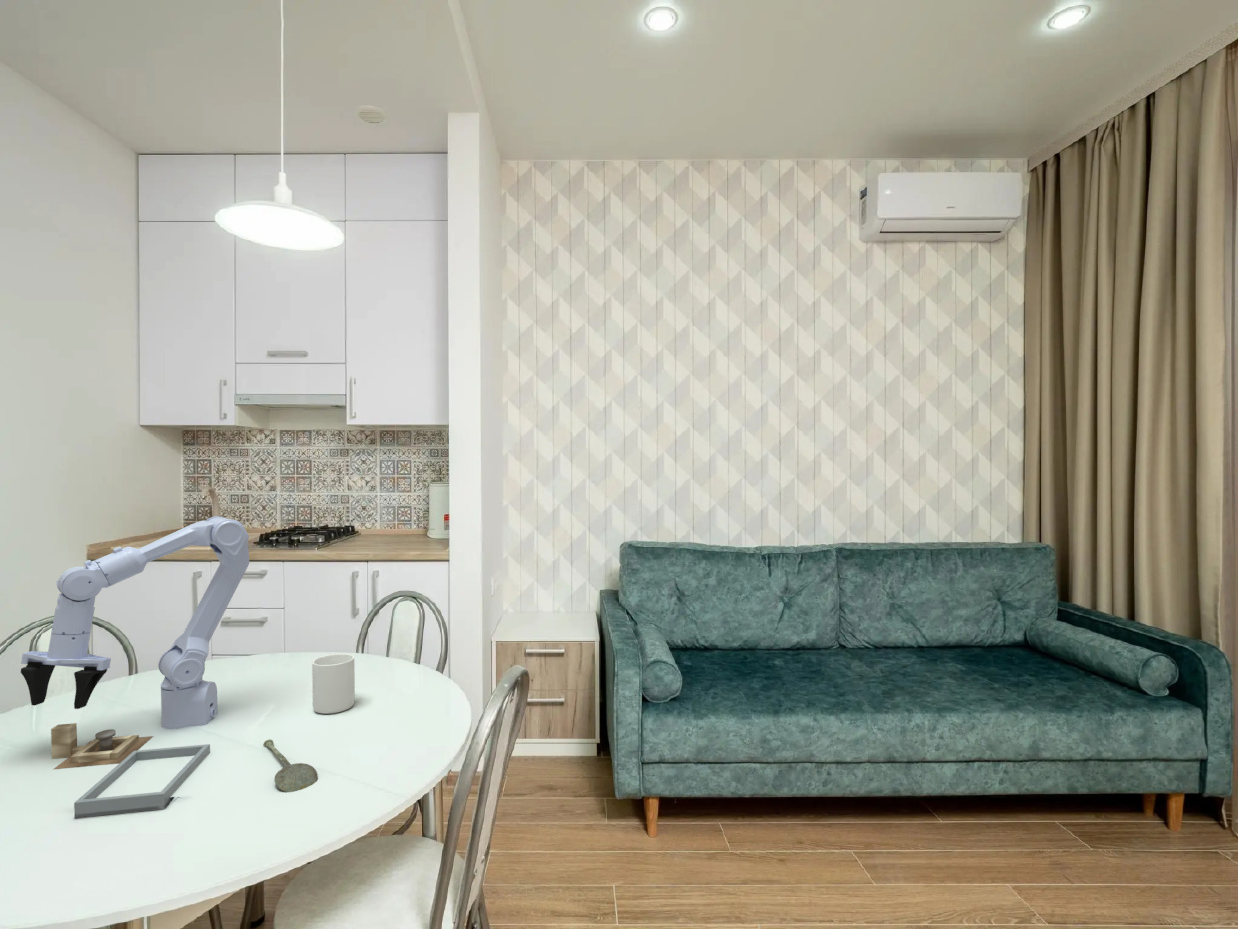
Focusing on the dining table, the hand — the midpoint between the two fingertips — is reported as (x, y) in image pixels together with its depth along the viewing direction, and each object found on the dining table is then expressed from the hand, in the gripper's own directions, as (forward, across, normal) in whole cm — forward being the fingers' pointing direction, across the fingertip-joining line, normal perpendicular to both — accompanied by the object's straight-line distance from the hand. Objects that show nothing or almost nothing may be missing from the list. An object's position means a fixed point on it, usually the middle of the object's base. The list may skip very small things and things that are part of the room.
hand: (58, 705), depth 120 cm
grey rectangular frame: (+9, +24, -10) cm, 27 cm away
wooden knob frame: (+8, +7, +1) cm, 11 cm away
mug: (+3, +42, +23) cm, 48 cm away
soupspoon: (+6, +44, -4) cm, 45 cm away
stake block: (+9, +9, +1) cm, 13 cm away
